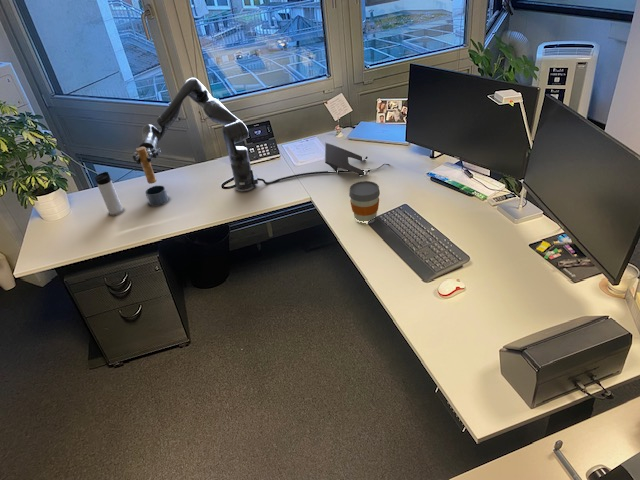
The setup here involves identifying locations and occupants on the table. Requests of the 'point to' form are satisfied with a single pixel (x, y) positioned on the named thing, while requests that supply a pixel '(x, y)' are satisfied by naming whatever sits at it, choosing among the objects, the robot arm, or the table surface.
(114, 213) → the travel mug
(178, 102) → the robot arm
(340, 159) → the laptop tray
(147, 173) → the wooden rod
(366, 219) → the reusable coffee cup
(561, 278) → the table surface
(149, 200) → the pen cup
